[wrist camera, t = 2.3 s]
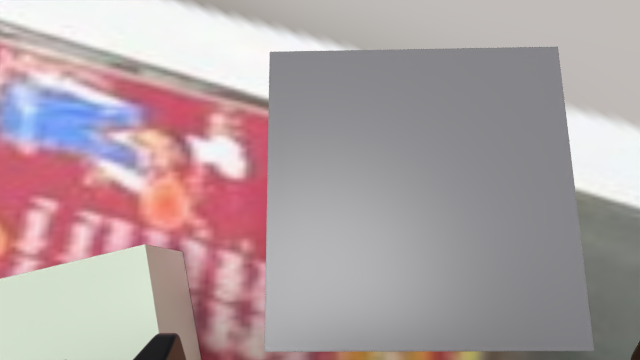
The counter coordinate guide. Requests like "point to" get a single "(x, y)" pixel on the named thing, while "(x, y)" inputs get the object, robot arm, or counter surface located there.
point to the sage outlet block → (97, 307)
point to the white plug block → (422, 203)
